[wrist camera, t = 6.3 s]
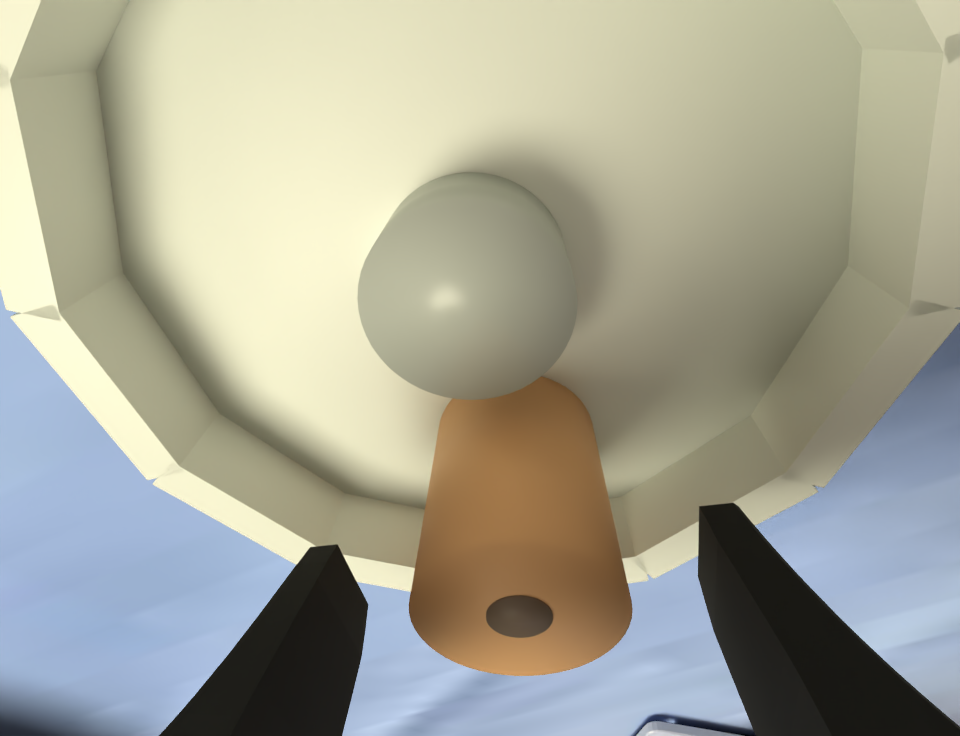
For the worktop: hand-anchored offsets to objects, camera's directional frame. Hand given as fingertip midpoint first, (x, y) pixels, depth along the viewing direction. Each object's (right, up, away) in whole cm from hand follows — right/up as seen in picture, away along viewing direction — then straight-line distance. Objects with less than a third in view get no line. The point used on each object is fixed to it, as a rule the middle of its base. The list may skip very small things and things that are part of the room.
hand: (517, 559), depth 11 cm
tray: (-1, +6, +1) cm, 6 cm away
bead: (0, +2, +3) cm, 4 cm away
